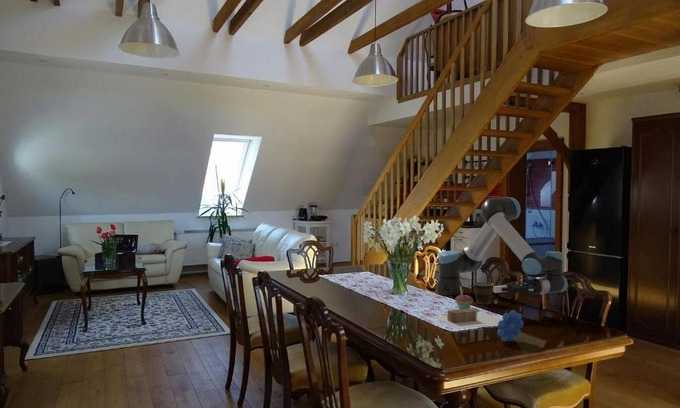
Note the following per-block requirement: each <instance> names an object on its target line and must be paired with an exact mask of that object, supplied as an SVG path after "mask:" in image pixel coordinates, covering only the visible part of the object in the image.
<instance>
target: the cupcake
mask: <svg viewBox="0 0 680 408" xmlns="http://www.w3.org/2000/svg"><path fill="white" fill-rule="evenodd" d="M460 291H461V295H456V297H455V298H454V301H455V303H456V305H457V306H458V309H466V308H471V305H472V304H473V303H474V299H473V297H472V296H470V295H468V294H462V289H461V286H460Z"/></svg>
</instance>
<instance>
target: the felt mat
mask: <svg viewBox="0 0 680 408" xmlns="http://www.w3.org/2000/svg"><path fill="white" fill-rule="evenodd" d="M434 318H435V319H437V320H439V321H441V322H443V323H445V324H446V325H449V326H451V327H453V328H455V329H457V330H459V329H466V328H476V327H483V326H486V327H487V326H491V325H492V326H495V325H498V323H499V321H501V320H503V318H502V319H501V318H499V317H496V316H494V315H491V314H489V313H486V312H484V311H477V321H470V322H461V323H452V322H450V321H448V320H447V315H446V314H445V315H441V316H440V315H439V316H434Z"/></svg>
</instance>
